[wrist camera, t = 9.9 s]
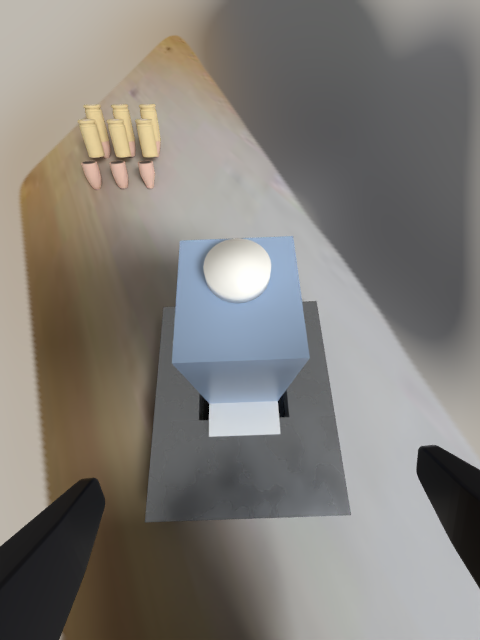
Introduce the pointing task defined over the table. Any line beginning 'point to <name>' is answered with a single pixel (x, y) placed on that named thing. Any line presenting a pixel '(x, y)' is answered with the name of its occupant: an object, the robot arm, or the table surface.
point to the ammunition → (120, 142)
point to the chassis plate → (245, 449)
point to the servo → (239, 329)
